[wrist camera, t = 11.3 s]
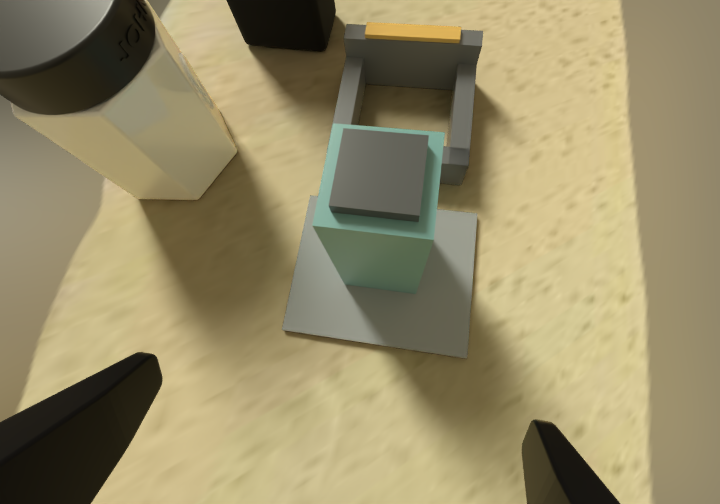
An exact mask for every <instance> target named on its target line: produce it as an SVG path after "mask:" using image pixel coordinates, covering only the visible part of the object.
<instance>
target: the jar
mask: <svg viewBox="0 0 720 504" xmlns="http://www.w3.org/2000/svg"><path fill="white" fill-rule="evenodd" d="M0 95H1V96H3V97H4V98H6V99H7V100H9V101H10V102H11V106H12V111H13V114H14V116H15V117H16V118H18V119H19V120H21V121H22V122H24V123H25V124H27V125H28V126H30V127H31V128H33V129H34V130H36V131H37V132H39V133H41V134H42V135H43V136H45V137H46V138H48V139H49V140H51V141H52V142H54V143H55V144H57V145H58V146H60V147H61V148H63V149H64V150H66V151H67V152H69V153H70V154H72V155H73V156H75V157H76V158H77V159H79V160H80V161H82V162H84V163H85V164H87V165H88V166H89V167H91V168H93V169H94V170H95V171H97V172H98V173H100V174H101V175H103V176H104V177H106V178H107V179H109V180H110V181H112V182H113V183H115V184H116V185H118V186H119V187H121V188H122V189H124V190H125V191H127V192H128V193H130V194H131V195H133V196H134V197H136V198H137V199H166V200H198V199H199V198H200V197H201V196H202V195H203V194H204V192H205V191H206V190H207V189H208V187H209V186H210V185H211V184H212V182H213V181H214V180H215V179H216V178H217V176H218V175H219V174H220V173H221V171H222V170H223V169H224V168H225V167H226V165H227V164H228V163H229V162H230V160H231V159H232V158H233V157H234V156H235V154H236V153H237V148H236V146H235V144H234V142H233V140H232V137H231V135H230V133H229V131H228V129H227V127H226V124H225V122H224V120H223V118H222V116H221V114H220V111H219V109H218V107H217V105H216V104H215V102H214V101H213V99H212V98H211V96H210V95H209V93H208V92H207V90H206V89H205V87H204V86H203V84H202V83H201V81H200V80H199V78H198V76H197V75H196V73H195V72H194V70H193V68H192V67H191V65H190V63H189V62H188V60H187V59H186V57H185V56H184V55H183V54H182V52H181V51H180V49H179V48H178V46H177V45H176V43H175V42H174V40H173V39H172V37H171V36H170V34H169V33H168V31H167V30H166V28H165V27H164V25H163V24H162V22H161V21H160V19H159V18H158V16H157V15H156V13H155V11H154V10H153V8H152V7H151V5H150V4H149V2H148V1H147V0H0Z"/></svg>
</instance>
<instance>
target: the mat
mask: <svg viewBox="0 0 720 504" xmlns="http://www.w3.org/2000/svg"><path fill="white" fill-rule="evenodd" d="M317 199H318V196H311V195H310V199H309V204H308V209H307V213H306V218H305V223H304V228H303V232H302V237H301V242H300V247H299V251H298V256H297V261H296V266H295V270H294V275H293V280H292V285H291V289H290V294H289V299H288V304H287V308H286V313H285V318H284V323H283V327H282V330H284V331H291V332H297V333H304V334H310V335H317V336H323V337H330V338H336V339H343V340H349V341H356V342H362V343H369V344H375V345H381V346H388V347H394V348H401V349H407V350H414V351H420V352H427V353H433V354H440V355H446V356H453V357H459V358H467V355H468V341H469V326H470V312H471V297H472V283H473V268H474V254H475V240H476V225H477V213H469V212H459V211H450V210H441V209H437V213H436V223H435V233H434V241H433V244H432V247H431V250H430V253H429V256H428V259H427V262H426V265H425V268H424V271H423V274H422V277H421V280H420V283H419V286H418V289H417V292H416V294H411V293H404V292H397V291H389V290H382V289H374V288H367V287H360V286H352V285H345V284H344V283H343V281H342V279H341V277H340V275H339V273H338V272H337V270H336V268H335V266H334V264H333V263H332V261H331V259H330V257H329V255H328V253H327V252H326V250H325V248H324V246H323V244H322V243H321V241H320V239H319V237H318V235H317V233H316V232H315V230H314V228H313V226H312V224H313V219H314V214H315V209H316V204H317Z"/></svg>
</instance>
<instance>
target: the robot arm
mask: <svg viewBox="0 0 720 504" xmlns="http://www.w3.org/2000/svg"><path fill="white" fill-rule="evenodd" d="M161 385H162V374H161V370H160V366H159V363H158V359H157V357H156V356H155V355H154V354H150V353H144V352H138V353H135V354H133V355H131V356H129V357H127V358H125V359H123V360H121V361H119V362H117V363H115V364H113V365H111V366H110V367H108V368H106V369H104V370H102V371H100V372H98V373H96V374H94V375H92V376H90V377H88V378H86V379H84V380H82V381H80V382H78V383H76V384H74V385H72V386H70V387H68V388H66V389H64V390H62V391H60V392H58V393H57V394H55V395H53V396H51V397H49V398H47V399H45V400H43V401H41V402H39V403H37V404H35V405H33V406H31V407H29V408H27V409H25V410H23V411H21V412H19V413H17V414H15V415H13V416H11V417H9V418H7V419H5V420H4V421H2V422H0V504H91V502H92V501H93V499H94V498H95V496H96V495H97V493H98V492H99V490H100V489H101V487H102V486H103V484H104V483H105V481H106V480H107V478H108V477H109V475H110V474H111V472H112V471H113V469H114V468H115V466H116V465H117V463H118V462H119V460H120V459H121V457H122V456H123V454H124V453H125V451H126V449H127V448H128V446H129V444H130V443H131V441H132V439H133V438H134V436H135V434H136V432H137V430H138V428H139V427H140V425H141V423H142V421H143V419H144V417H145V415H146V414H147V412H148V410H149V408H150V406H151V404H152V402H153V401H154V399H155V397H156V395H157V393H158V391H159V390H160V387H161ZM522 460H523V469H524V479H525V488H526V498H527V504H620V503H619V501H618V500H617V499H616V498H615V497H614V495H613V494H612V493H611V492H610V491H609V489H608V488H607V487H606V486H605V485H604V483H603V482H602V481H601V480H600V478H599V477H598V476H597V475H596V474H595V472H594V471H593V470H592V469H591V468H590V466H589V465H588V464H587V463H586V462H585V460H584V459H583V458H582V457H581V456H580V454H579V453H578V452H577V451H576V449H575V448H574V447H573V446H572V445H571V443H570V442H569V441H568V440H567V439H566V437H565V436H564V435H563V434H562V433H561V431H560V430H559V429H558V428H557V427H556V425H554V424H553V423H552V422H548V421H542V420H536V419H535V420H533V421H531V423H530V425H529V428H528V430H527V433H526V435H525V438H524V440H523V443H522Z"/></svg>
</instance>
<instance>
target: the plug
mask: <svg viewBox="0 0 720 504" xmlns="http://www.w3.org/2000/svg"><path fill="white" fill-rule="evenodd" d="M444 135H445V132H433V131H421V130H409V129H397V128H384V127H372V126H360V125H348V124H336V123H333V125H332V130H331V135H330V140H329V145H328V150H327V155H326V160H325V165H324V170H323V175H322V180H321V185H320V190H319V195H318V199H317V204H316V209H315V214H314V219H313V224H312V226H313V228H314V230H315V232H316V233H317V235H318V237H319V239H320V241H321V243H322V244H323V246H324V248H325V250H326V252H327V253H328V255H329V257H330V259H331V261H332V263H333V264H334V266H335V268H336V270H337V272H338V273H339V275H340V277H341V279H342V281H343V283H344V284H345V285H352V286H360V287H367V288H374V289H382V290H389V291H397V292H404V293H411V294H416V292H417V289H418V286H419V283H420V280H421V277H422V274H423V271H424V268H425V265H426V262H427V259H428V256H429V253H430V250H431V247H432V244H433V241H434V233H435V223H436V213H437V204H438V194H439V184H440V174H441V164H442V155H443V145H444Z"/></svg>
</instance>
